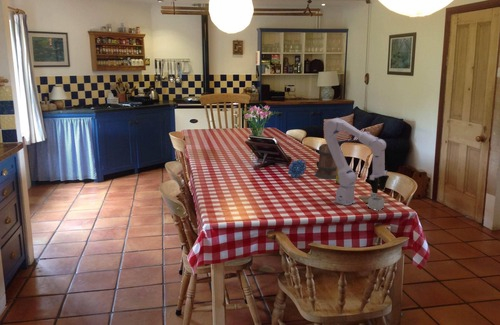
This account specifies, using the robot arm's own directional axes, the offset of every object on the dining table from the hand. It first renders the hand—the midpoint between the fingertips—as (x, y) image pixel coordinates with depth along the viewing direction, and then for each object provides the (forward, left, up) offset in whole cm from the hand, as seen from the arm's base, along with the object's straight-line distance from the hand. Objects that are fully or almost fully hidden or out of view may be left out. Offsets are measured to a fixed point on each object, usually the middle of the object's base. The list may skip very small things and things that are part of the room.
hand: (378, 191), depth 225 cm
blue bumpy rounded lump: (+16, +66, -9) cm, 69 cm away
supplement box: (+25, +38, -9) cm, 46 cm away
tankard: (+35, +59, -9) cm, 69 cm away
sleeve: (-1, 0, -9) cm, 9 cm away
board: (+10, +8, -9) cm, 16 cm away
